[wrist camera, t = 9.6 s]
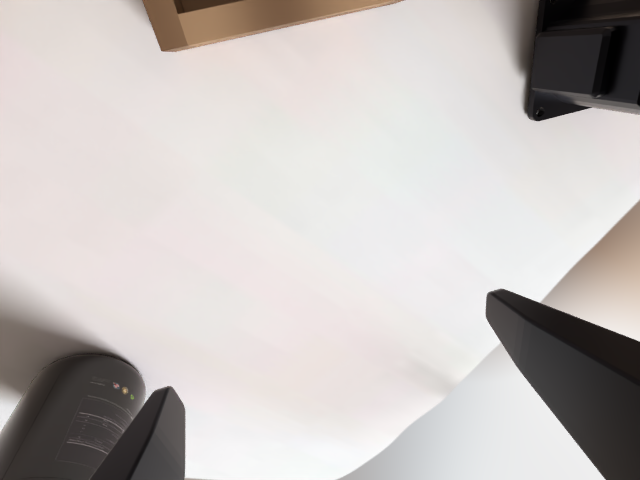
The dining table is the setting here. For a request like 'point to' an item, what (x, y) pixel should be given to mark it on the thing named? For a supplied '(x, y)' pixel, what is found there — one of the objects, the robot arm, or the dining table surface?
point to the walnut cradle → (238, 18)
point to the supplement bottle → (70, 418)
